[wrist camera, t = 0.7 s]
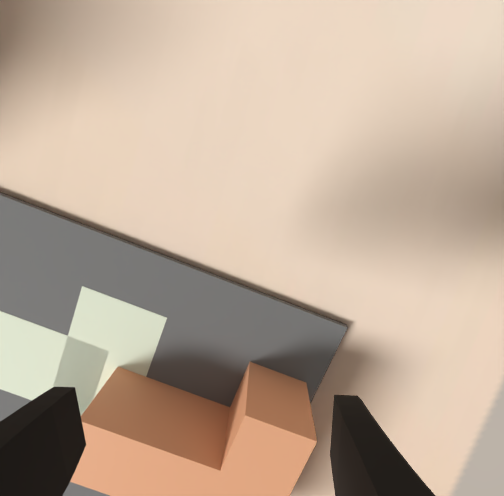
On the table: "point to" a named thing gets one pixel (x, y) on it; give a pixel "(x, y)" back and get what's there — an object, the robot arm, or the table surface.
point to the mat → (135, 318)
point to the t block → (196, 438)
